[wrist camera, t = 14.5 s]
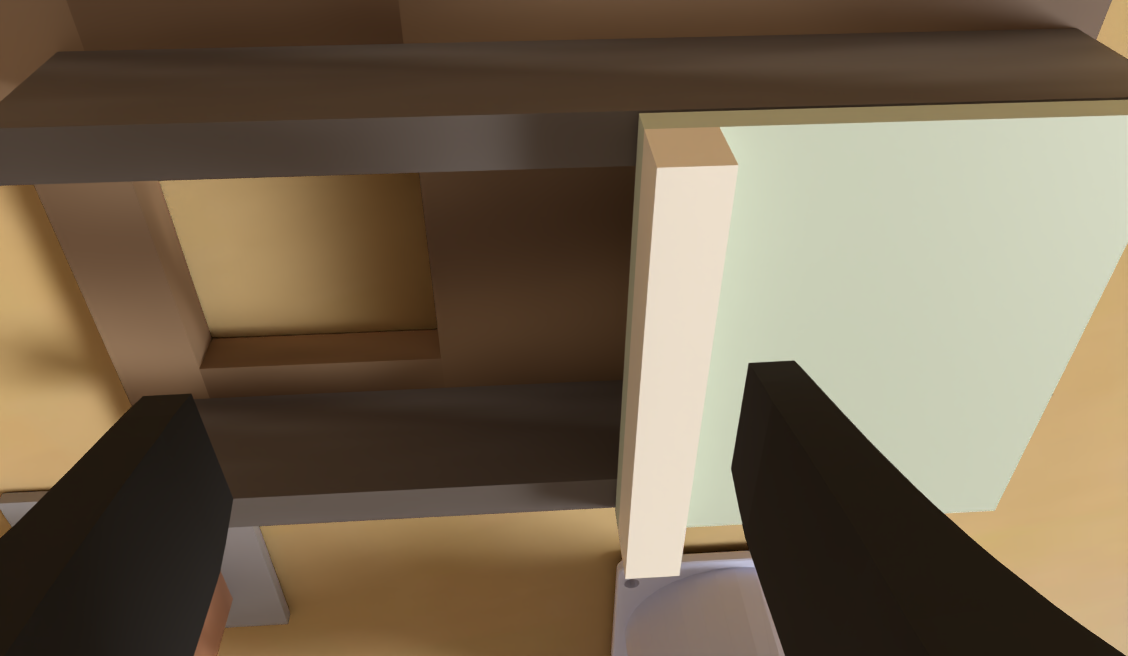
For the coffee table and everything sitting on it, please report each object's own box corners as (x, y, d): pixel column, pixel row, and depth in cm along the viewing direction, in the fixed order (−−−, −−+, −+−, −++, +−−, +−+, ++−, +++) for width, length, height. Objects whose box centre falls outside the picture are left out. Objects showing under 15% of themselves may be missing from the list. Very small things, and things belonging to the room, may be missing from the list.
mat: (290, 613, 29) (288, 624, 29) (86, 625, 29) (82, 636, 29) (242, 480, 25) (239, 491, 25) (2, 493, 25) (-4, 503, 24)
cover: (982, 491, 20) (1021, 556, 19) (615, 510, 20) (625, 579, 18) (1168, 98, 14) (1248, 149, 13) (639, 113, 14) (657, 167, 12)
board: (910, 436, 26) (978, 560, 22) (187, 472, 25) (135, 609, 21) (1127, -152, 16) (1313, -100, 12) (-66, -139, 15) (-247, -77, 11)
